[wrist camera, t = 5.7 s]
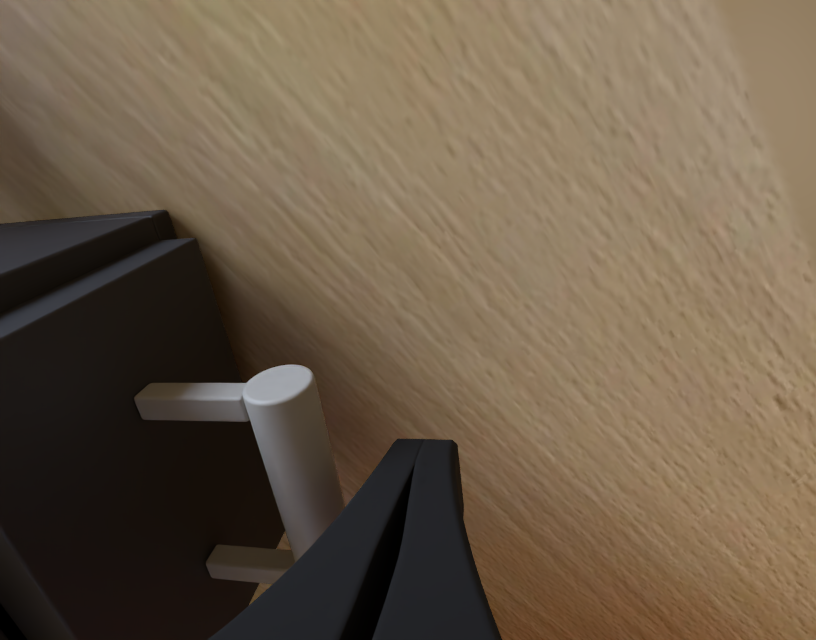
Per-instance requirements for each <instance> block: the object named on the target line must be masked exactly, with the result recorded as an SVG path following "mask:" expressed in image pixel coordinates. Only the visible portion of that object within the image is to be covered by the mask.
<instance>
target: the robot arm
mask: <svg viewBox="0 0 816 640" xmlns="http://www.w3.org/2000/svg"><path fill="white" fill-rule="evenodd" d="M463 513H464V503H463V494H462V484H461V474H460V464H459V455H458V445H457V444H456V443H455V442H454V441H453V440H435V439H397V440H396V441H395V442H394V443H393V444H392V446H391V447H390V449H389V450H388V452H387V453H386V454H385V456H384V457H383V459H382V460H381V461H380V463H379V464H378V466H377V467H376V468H375V470H374V471H373V472H372V474H371V475H370V476H369V478H368V479H367V480H366V482H365V483H364V484H363V486H362V487H361V488H360V489H359V491H358V492H357V493H356V494H355V496H354V497H353V498H352V499H351V501H350V502H349V503H348V504H347V506H346V507H345V508H344V509H343V511H342V512H341V513H340V514H339V515H338V516H337V518H336V519H335V520H334V521H333V522H332V523H331V524H330V526H329V527H328V528H327V529H326V530H325V531H324V532H323V533H322V535H321V536H320V537H319V538H318V539H317V540H316V541H315V543H314V544H313V545H312V546H311V547H310V548H309V549H308V550H307V551H306V552H305V553H304V554H303V555H302V556H301V557H300V558H299V559H298V560H297V561H296V562H295V563H294V564H293V565H292V566H291V567H290V568H289V569H288V570H287V571H286V572H285V573H284V574H283V575H282V576H281V577H280V578H279V579H278V580H277V581H276V582H275V583H274V584H273V585H272V586H270V587H269V588H268V589H267V590H266V591H265V592H264V593H263V594H261V595H260V596H259V597H258V598H257V599H256V600H255V601H254V602H253V603H251V604H250V605H249V606H248V607H247V608H246V609H245V610H244V611H242V612H241V613H240V614H239V615H238V616H236V617H235V618H234V619H233V620H232V621H230V622H229V623H228V624H227V625H226V626H224V627H223V628H222V629H221V630H219V631H218V632H217V633H215V634H214V635H213V636H212V637H210V638H209V639H208V640H502V638H501V636H500V633H499V631H498V628H497V625H496V623H495V620H494V617H493V615H492V612H491V609H490V607H489V604H488V601H487V598H486V595H485V592H484V589H483V586H482V584H481V580H480V577H479V574H478V571H477V568H476V565H475V561H474V558H473V554H472V551H471V547H470V544H469V540H468V536H467V532H466V528H465V524H464V520H463Z"/></svg>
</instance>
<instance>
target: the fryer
mask: <svg viewBox="0 0 816 640" xmlns="http://www.w3.org/2000/svg"><path fill="white" fill-rule="evenodd" d="M171 239H177V237H176V234H175V231H174V228H173V225H172V222H171V219H170V216H169V213H168V211H166V210H156V211H144V212H133V213H121V214H110V215H98V216H86V217H75V218H63V219H51V220H40V221H28V222H16V223H5V224H0V313H2V312H4V311H6V310H8V309H11V308H13V307H15V306H17V305H19V304H21V303H23V302H26V301H28V300H30V299H32V298H34V297H36V296H38V295H41V294H43V293H45V292H47V291H49V290H51V289H53V288H56V287H58V286H60V285H62V284H64V283H66V282H69V281H71V280H73V279H75V278H77V277H79V276H81V275H84V274H86V273H88V272H90V271H92V270H94V269H96V268H99V267H101V266H103V265H105V264H107V263H109V262H111V261H114V260H116V259H118V258H120V257H122V256H124V255H126V254H129V253H131V252H133V251H135V250H137V249H139V248H141V247H144V246H146V245H148V244H150V243H152V242H154V241H157V240H171ZM0 640H9V639H8V638H7V637H6V635H5V634H4V633H3V631H2V630H1V629H0Z"/></svg>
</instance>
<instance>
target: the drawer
mask: <svg viewBox="0 0 816 640" xmlns="http://www.w3.org/2000/svg"><path fill="white" fill-rule="evenodd" d="M344 508H345V503H344V499H343V495H342V490H341V486H340V482H339V478H338V474H337V469H336V465H335V461H334V457H333V452H332V448H331V444H330V440H329V435H328V431H327V427H326V423H325V419H324V414H323V410H322V406H321V402H320V397H319V393H318V389H317V385H316V380H315V376H314V374H313V373H312V371H311V370H310V369H309V368H307V367H305V366H301V365H282V366H277V367H273V368H270V369H267V370H265V371H262V372H261V373H259V374H257V375H255V376H254V377H252V378H251V379H250V380H249V381H248V382H247V383H242V382H241V378H240V375H239V372H238V369H237V366H236V362H235V359H234V356H233V353H232V350H231V347H230V343H229V340H228V337H227V334H226V331H225V327H224V324H223V321H222V318H221V315H220V312H219V308H218V305H217V302H216V299H215V296H214V293H213V289H212V286H211V283H210V280H209V277H208V273H207V270H206V267H205V264H204V261H203V258H202V254H201V251H200V248H199V245H198V242H197V239H196V238H185V239H171V240H157V241H154V242H152V243H150V244H148V245H146V246H144V247H141V248H139V249H137V250H135V251H133V252H131V253H129V254H126V255H124V256H122V257H120V258H118V259H116V260H114V261H111V262H109V263H107V264H105V265H103V266H101V267H99V268H96V269H94V270H92V271H90V272H88V273H86V274H84V275H81V276H79V277H77V278H75V279H73V280H71V281H69V282H66V283H64V284H62V285H60V286H58V287H56V288H53V289H51V290H49V291H47V292H45V293H43V294H41V295H38V296H36V297H34V298H32V299H30V300H28V301H26V302H23V303H21V304H19V305H17V306H15V307H13V308H11V309H8V310H6V311H4V312H2V313H0V629H1V630H2V631H3V633H4V634H5V635H6V637H7V638H8V639H9V640H208V639H209V638H210V637H212V636H213V635H214V634H215V633H217V632H218V631H219V630H221V629H222V628H223V627H224V626H226V625H227V624H228V623H229V622H230V621H232V620H233V619H234V618H235V617H236V616H238V615H239V614H240V613H241V612H242V611H244V610H245V609H246V608H247V607H248V605H249V603H250V601H251V599H252V597H253V595H254V593H255V591H256V589H257V587H258V585H259V583H266V584H274V583H275V582H276V581H277V580H278V579H279V578H280V577H281V576H282V575H283V574H284V573H285V572H286V571H287V570H288V569H289V568H290V567H291V566H292V565H293V564H294V563H295V562H296V561H297V560H298V559H299V558H300V557H301V556H302V555H303V554H304V553H305V552H306V551H307V550H308V549H309V548H310V547H311V546H312V545H313V544H314V543H315V541H316V540H317V539H318V538H319V537H320V536H321V535H322V533H323V532H324V531H325V530H326V529H327V528H328V527H329V526H330V524H331V523H332V522H333V521H334V520H335V519H336V518H337V516H338V515H339V514H340V513H341V512H342V511H343V509H344ZM285 531H286V535H287V538H288V541H289V544H290V547H291V550H280V549H276V548H277V546H278V544H279V542H280V540H281V538H282V536H283V534H284V532H285Z"/></svg>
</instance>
